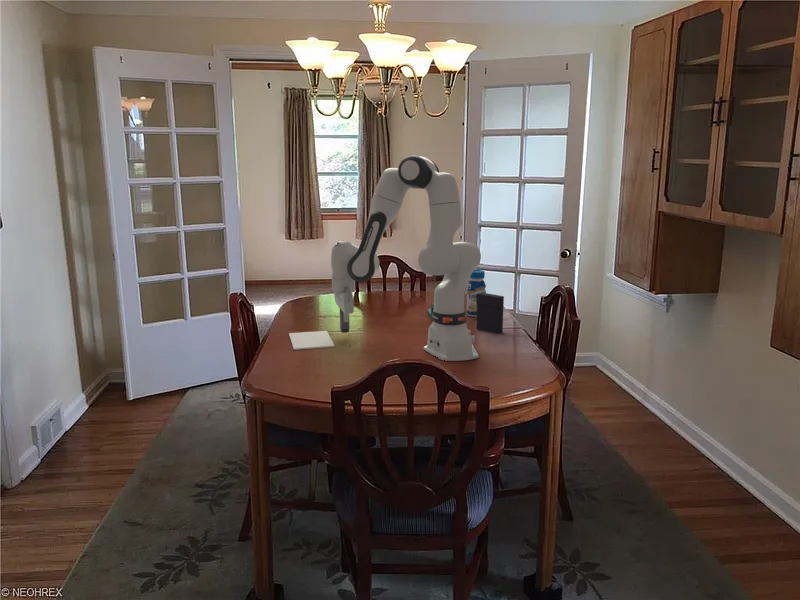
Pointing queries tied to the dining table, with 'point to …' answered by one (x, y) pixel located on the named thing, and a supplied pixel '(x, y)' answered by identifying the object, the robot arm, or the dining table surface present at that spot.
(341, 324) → the marker
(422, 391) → the dining table surface
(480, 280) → the beverage bottle
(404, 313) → the dining table surface
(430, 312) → the bracket
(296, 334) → the paper
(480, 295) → the upright charcoal panel
